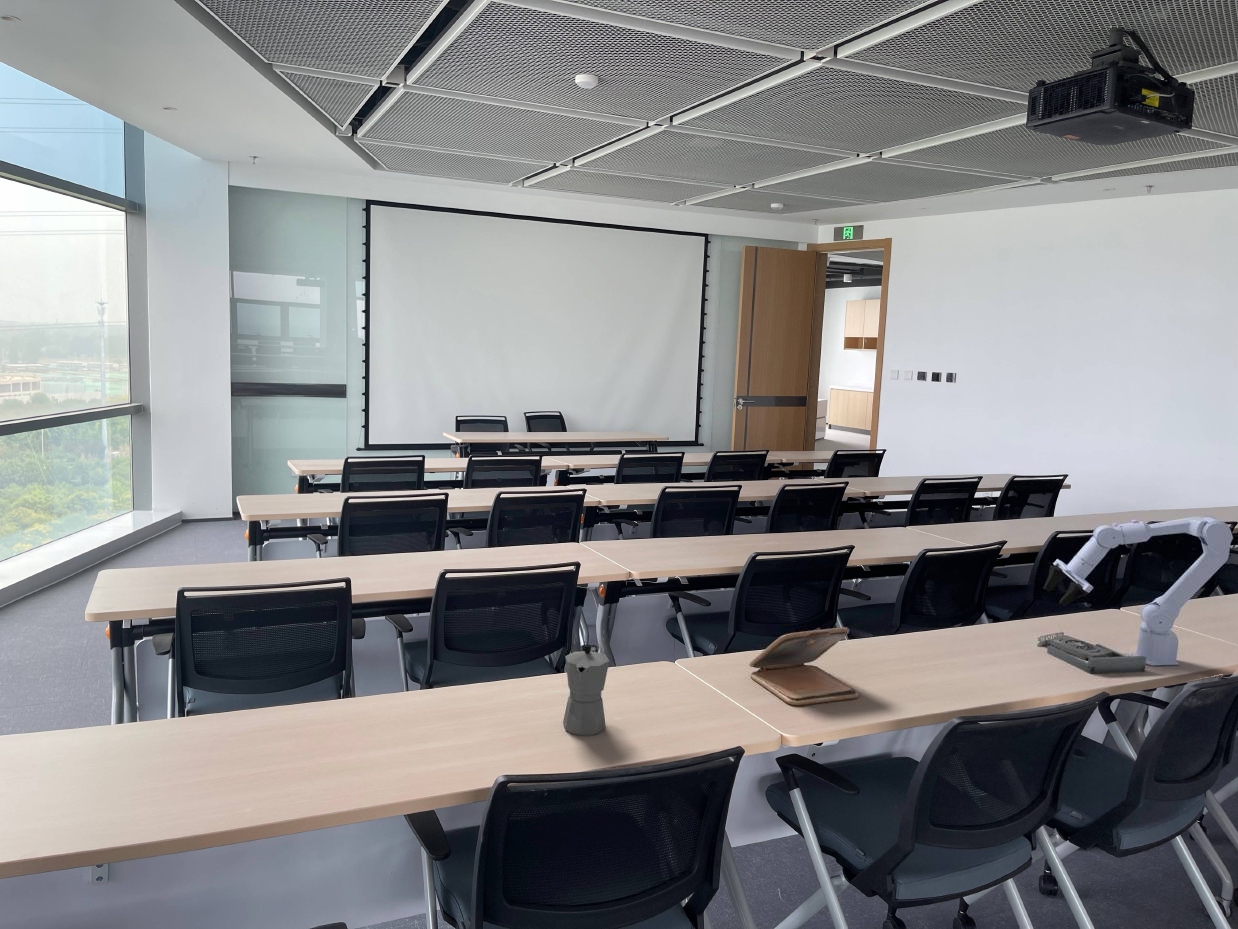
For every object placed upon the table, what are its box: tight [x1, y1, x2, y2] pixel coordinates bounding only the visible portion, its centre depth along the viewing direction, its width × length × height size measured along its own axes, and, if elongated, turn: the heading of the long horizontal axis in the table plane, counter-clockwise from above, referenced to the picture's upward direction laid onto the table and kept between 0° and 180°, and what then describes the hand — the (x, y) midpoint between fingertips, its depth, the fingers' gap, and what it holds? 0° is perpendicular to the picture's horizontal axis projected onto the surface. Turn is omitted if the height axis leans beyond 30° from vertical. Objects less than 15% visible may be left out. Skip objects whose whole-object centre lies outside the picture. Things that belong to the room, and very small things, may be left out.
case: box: [748, 626, 859, 706], centre depth 202 cm, size 20×21×16 cm
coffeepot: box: [562, 644, 610, 737], centre depth 175 cm, size 15×9×18 cm, turn 171°
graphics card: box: [1036, 631, 1112, 661], centre depth 238 cm, size 17×4×12 cm
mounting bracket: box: [1046, 643, 1147, 675], centre depth 231 cm, size 17×16×4 cm
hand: (1053, 597), depth 242 cm, fingers open, 7 cm apart
